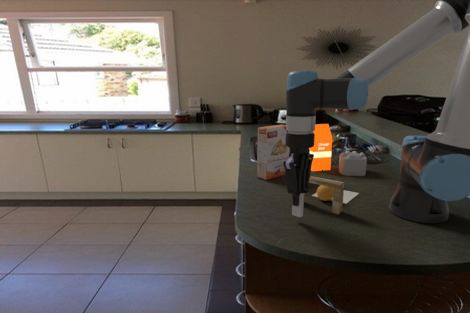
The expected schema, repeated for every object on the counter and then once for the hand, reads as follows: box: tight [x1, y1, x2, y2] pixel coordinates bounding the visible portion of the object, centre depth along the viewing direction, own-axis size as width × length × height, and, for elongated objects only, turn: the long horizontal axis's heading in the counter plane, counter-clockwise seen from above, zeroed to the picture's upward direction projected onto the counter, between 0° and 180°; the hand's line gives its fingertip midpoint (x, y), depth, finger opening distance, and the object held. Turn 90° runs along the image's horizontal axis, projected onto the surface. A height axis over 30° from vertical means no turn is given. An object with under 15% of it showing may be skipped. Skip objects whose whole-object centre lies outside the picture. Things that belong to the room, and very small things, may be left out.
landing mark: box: [311, 189, 360, 205], centre depth 109 cm, size 12×12×1 cm
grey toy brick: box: [338, 150, 368, 177], centre depth 135 cm, size 10×13×9 cm
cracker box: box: [256, 124, 290, 181], centre depth 130 cm, size 14×6×21 cm, turn 131°
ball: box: [316, 185, 333, 202], centre depth 103 cm, size 6×6×6 cm
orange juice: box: [309, 123, 333, 172], centre depth 140 cm, size 8×9×20 cm
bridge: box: [304, 175, 345, 215], centre depth 97 cm, size 3×14×9 cm, turn 50°
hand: (297, 215), depth 88 cm, fingers closed
